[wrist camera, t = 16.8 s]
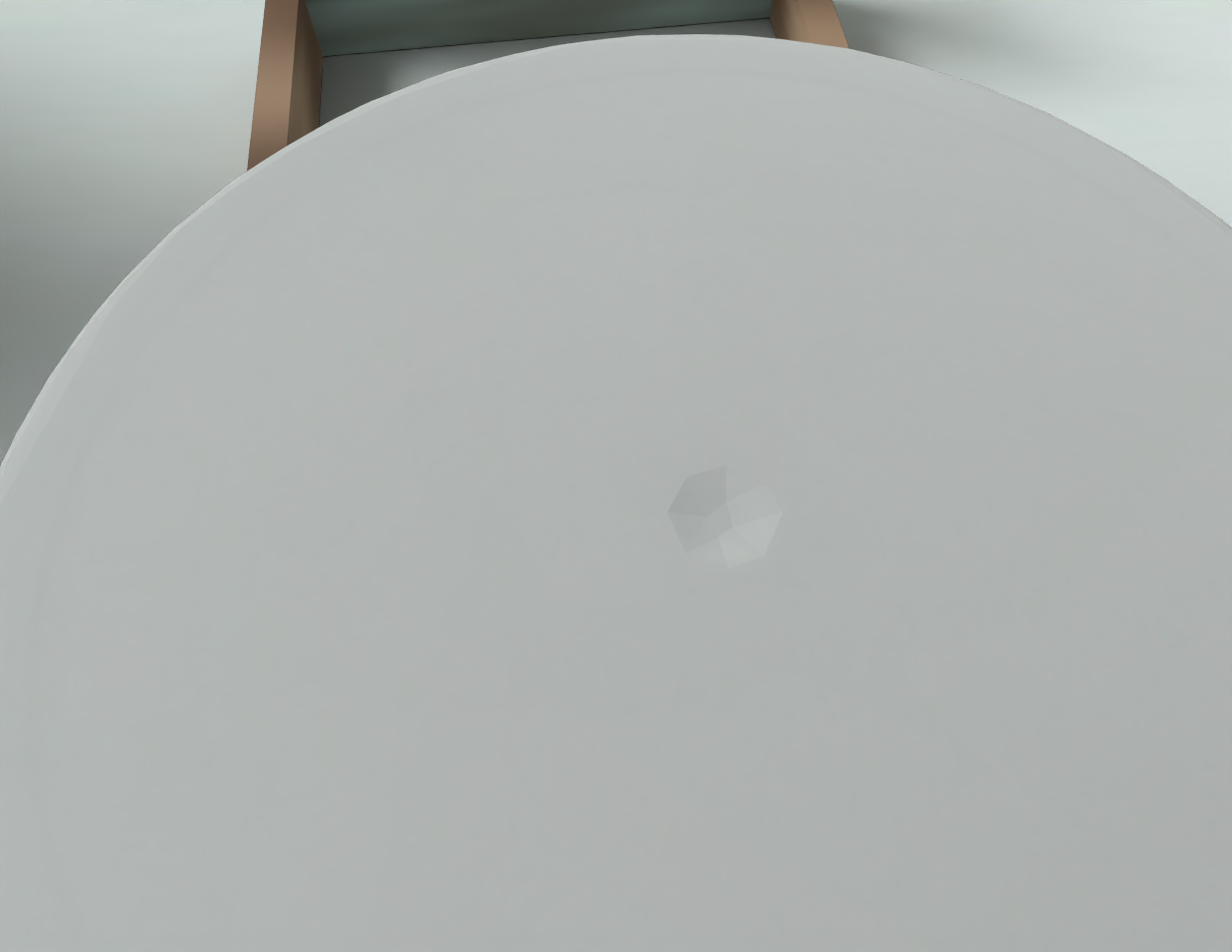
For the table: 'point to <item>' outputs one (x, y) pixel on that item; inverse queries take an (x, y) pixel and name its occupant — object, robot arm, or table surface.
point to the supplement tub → (637, 534)
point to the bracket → (465, 38)
